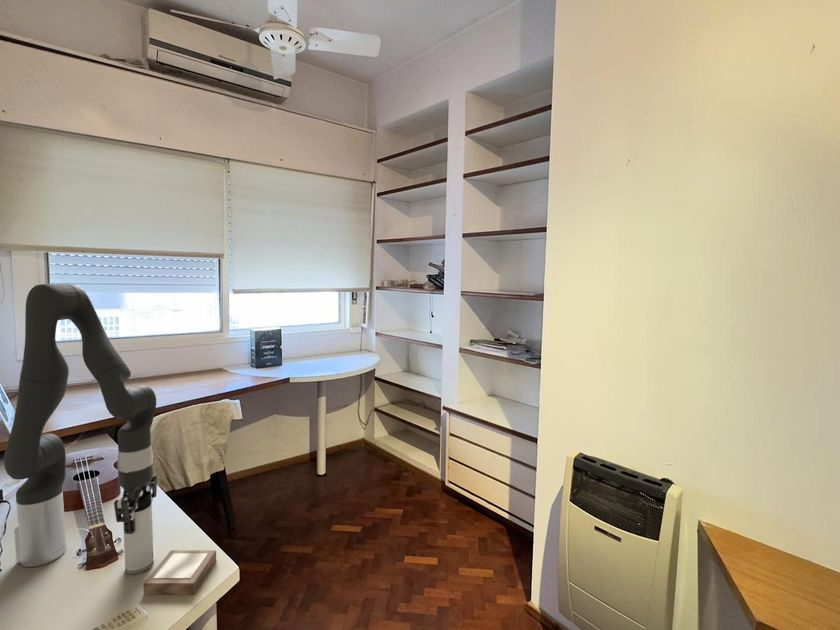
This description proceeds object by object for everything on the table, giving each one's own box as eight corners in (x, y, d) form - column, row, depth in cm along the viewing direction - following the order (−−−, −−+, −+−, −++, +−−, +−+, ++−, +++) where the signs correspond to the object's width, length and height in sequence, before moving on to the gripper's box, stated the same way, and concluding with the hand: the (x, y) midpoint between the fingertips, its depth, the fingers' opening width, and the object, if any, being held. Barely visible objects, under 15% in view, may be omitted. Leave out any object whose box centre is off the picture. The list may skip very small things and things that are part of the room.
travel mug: (160, 560, 113) (158, 489, 111) (137, 576, 107) (135, 502, 105) (142, 555, 115) (139, 486, 113) (119, 571, 108) (116, 498, 106)
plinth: (143, 594, 101) (143, 582, 101) (171, 560, 113) (170, 549, 112) (194, 594, 101) (193, 582, 101) (216, 560, 113) (216, 549, 113)
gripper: (138, 451, 115) (141, 509, 116) (100, 477, 100) (104, 542, 102) (166, 452, 115) (168, 509, 117) (132, 477, 101) (135, 542, 102)
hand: (138, 524), depth 109 cm, fingers closed on travel mug, 6 cm apart
